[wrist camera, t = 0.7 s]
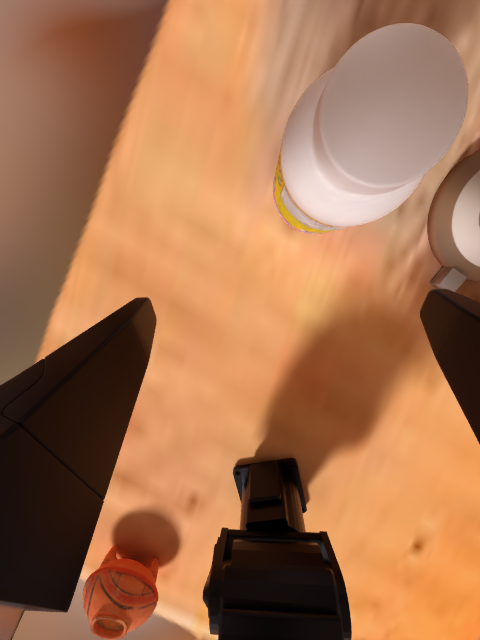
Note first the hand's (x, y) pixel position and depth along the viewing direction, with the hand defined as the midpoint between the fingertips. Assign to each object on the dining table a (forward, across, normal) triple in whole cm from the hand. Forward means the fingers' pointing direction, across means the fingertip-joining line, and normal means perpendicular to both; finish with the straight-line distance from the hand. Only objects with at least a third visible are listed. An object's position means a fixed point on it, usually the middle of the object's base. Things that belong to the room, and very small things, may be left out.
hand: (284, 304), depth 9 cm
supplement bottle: (+16, -4, +1) cm, 16 cm away
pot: (-1, +16, +36) cm, 40 cm away
